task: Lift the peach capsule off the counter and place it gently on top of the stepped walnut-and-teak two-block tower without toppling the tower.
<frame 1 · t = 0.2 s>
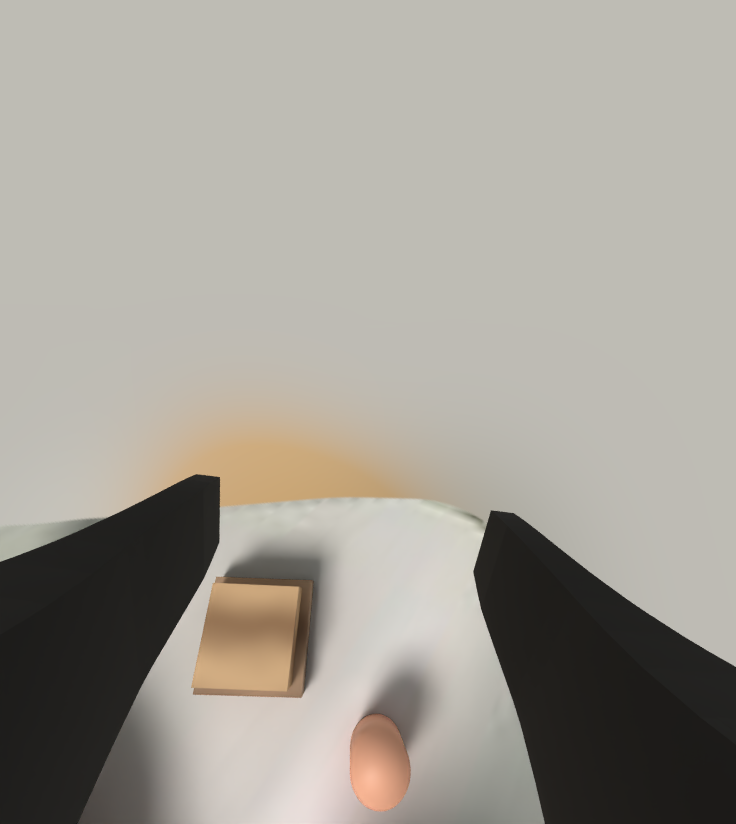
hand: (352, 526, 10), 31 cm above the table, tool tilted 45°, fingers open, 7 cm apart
peach capsule: (376, 746, 32), on the table
top block: (254, 632, 33), point 2 cm above the table
bottom block: (262, 631, 36), on the table
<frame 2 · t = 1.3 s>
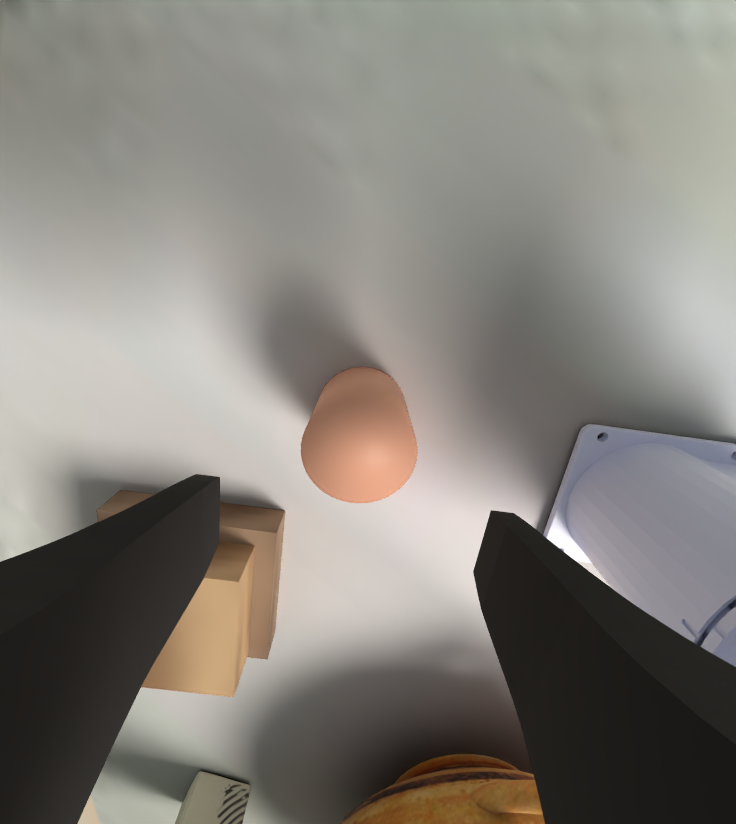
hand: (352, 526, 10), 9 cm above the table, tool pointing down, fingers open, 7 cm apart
peach capsule: (361, 409, 19), on the table
box: (217, 788, 30), on the table
wooden bowl: (459, 795, 30), on the table
top block: (182, 593, 20), point 2 cm above the table, touching bottom block
bottom block: (207, 558, 23), on the table, touching top block
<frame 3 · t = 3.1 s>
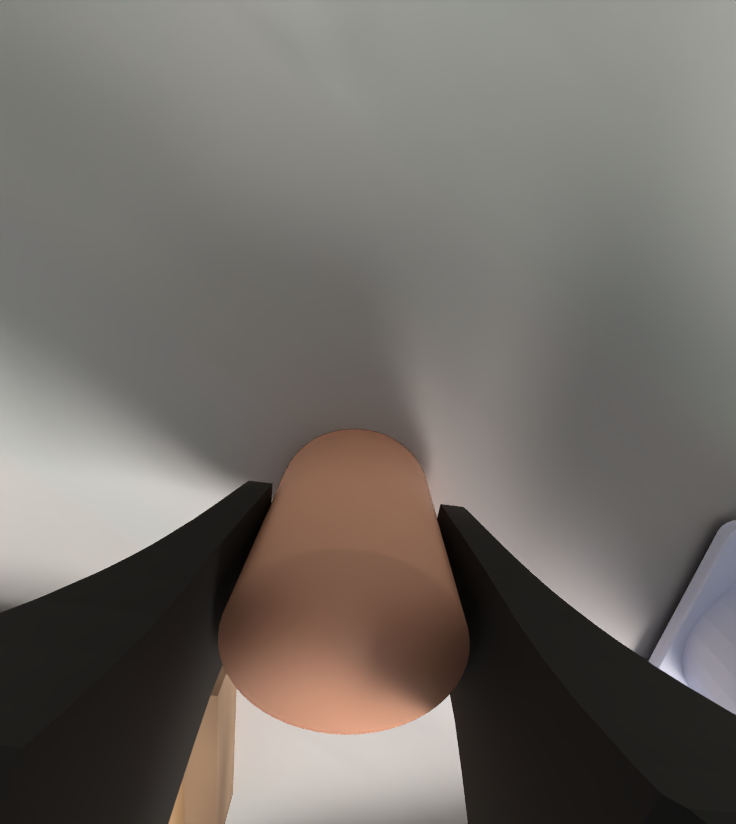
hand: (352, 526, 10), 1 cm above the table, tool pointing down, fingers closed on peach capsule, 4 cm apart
peach capsule: (354, 496, 11), on the table, touching gripper
top block: (74, 779, 13), point 2 cm above the table
bottom block: (128, 696, 15), on the table
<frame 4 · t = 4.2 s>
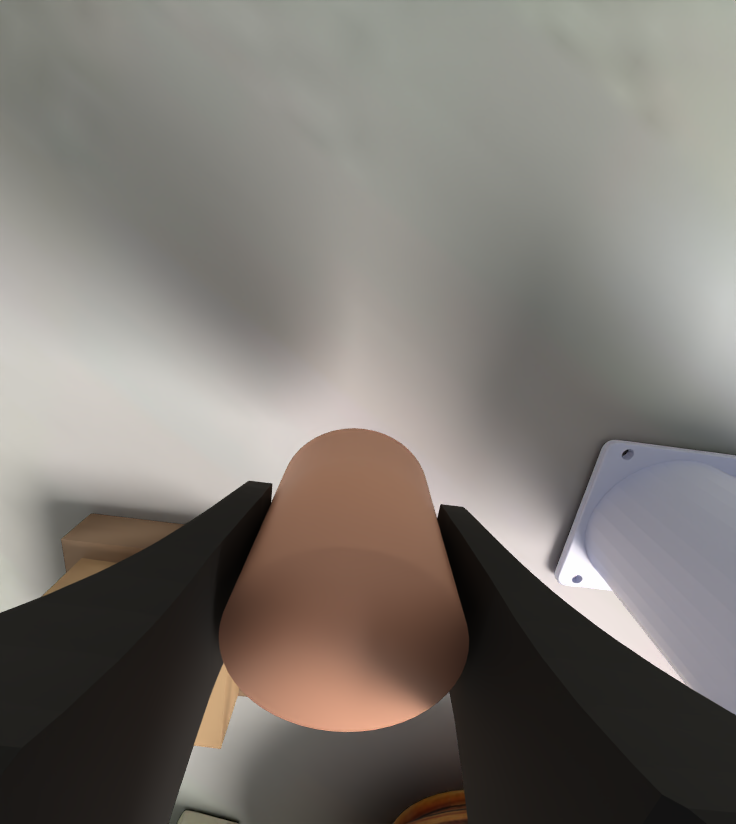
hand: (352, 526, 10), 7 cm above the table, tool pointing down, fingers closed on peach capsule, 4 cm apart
peach capsule: (354, 496, 11), point 6 cm above the table, touching gripper
top block: (166, 630, 18), point 2 cm above the table, touching bottom block
bottom block: (191, 586, 21), on the table, touching top block
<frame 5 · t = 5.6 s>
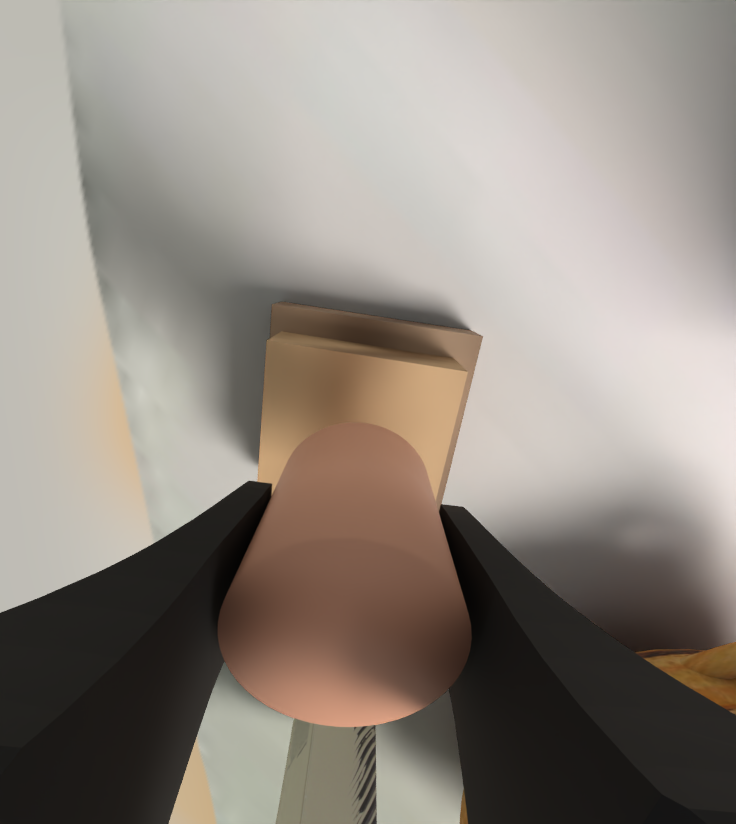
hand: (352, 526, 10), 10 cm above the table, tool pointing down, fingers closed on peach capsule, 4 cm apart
peach capsule: (355, 490, 11), point 8 cm above the table, touching gripper
box: (334, 700, 27), on the table
wooden bowl: (602, 707, 27), on the table
top block: (356, 425, 17), point 2 cm above the table, touching bottom block
bottom block: (364, 402, 20), on the table, touching top block
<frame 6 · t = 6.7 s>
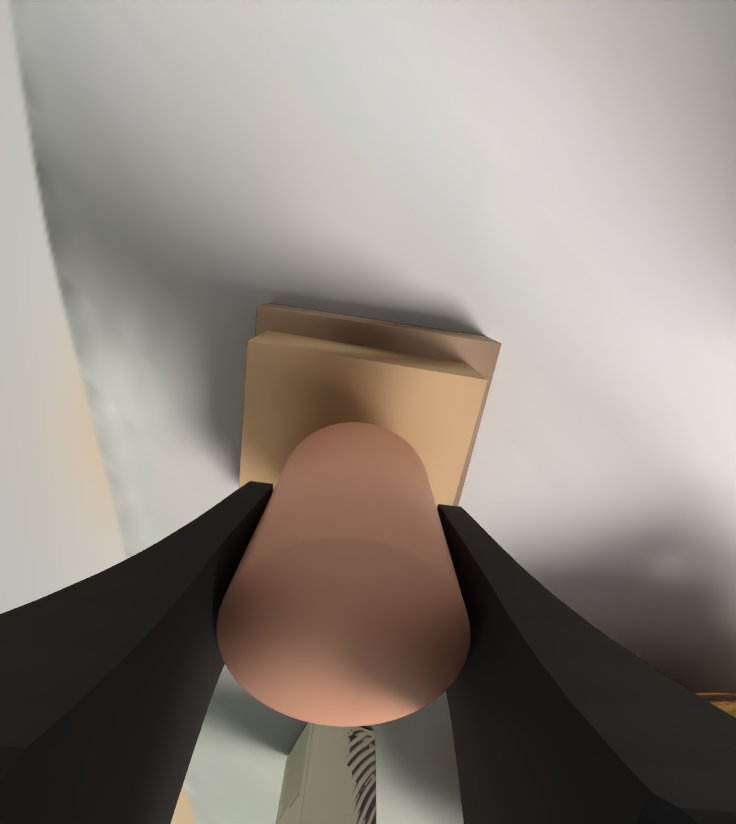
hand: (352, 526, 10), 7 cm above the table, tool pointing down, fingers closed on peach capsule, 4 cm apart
peach capsule: (354, 490, 11), point 6 cm above the table, touching gripper
box: (330, 737, 24), on the table
wooden bowl: (622, 744, 25), on the table
top block: (354, 438, 15), point 2 cm above the table, touching bottom block
bottom block: (363, 416, 18), on the table, touching top block
when the fingers open (7 cm above the table, at t = 6.9 s): peach capsule drops 2 cm, resting on top block.
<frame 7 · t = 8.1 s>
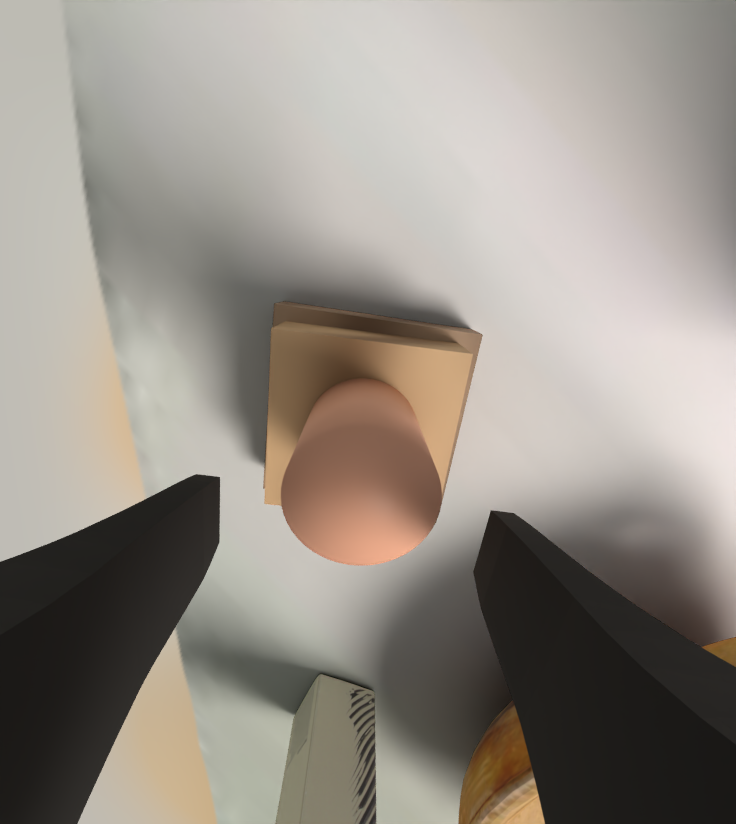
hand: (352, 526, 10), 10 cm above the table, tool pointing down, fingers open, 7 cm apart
peach capsule: (362, 432, 15), point 4 cm above the table, touching top block
box: (334, 697, 27), on the table
wooden bowl: (600, 704, 27), on the table
top block: (362, 413, 17), point 2 cm above the table, touching bottom block, peach capsule
bottom block: (365, 400, 20), on the table, touching top block
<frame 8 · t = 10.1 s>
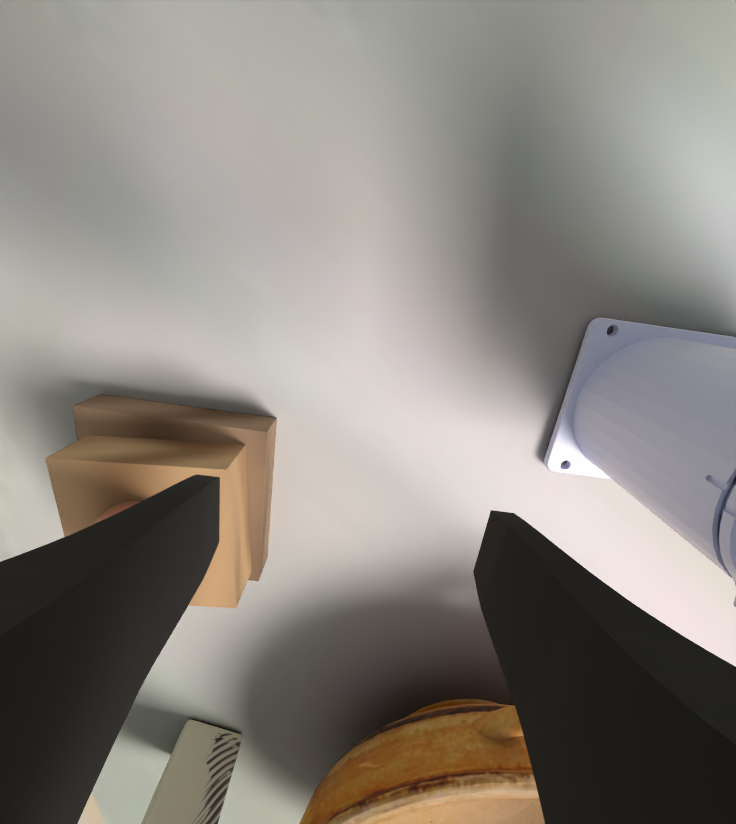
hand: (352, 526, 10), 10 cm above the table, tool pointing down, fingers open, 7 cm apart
peach capsule: (145, 542, 17), point 4 cm above the table
box: (207, 739, 28), on the table
wooden bowl: (460, 745, 29), on the table
top block: (175, 507, 19), point 2 cm above the table, touching bottom block
bottom block: (195, 476, 21), on the table, touching top block
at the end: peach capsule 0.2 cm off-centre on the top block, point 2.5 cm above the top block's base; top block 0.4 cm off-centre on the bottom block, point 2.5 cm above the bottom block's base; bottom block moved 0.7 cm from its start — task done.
